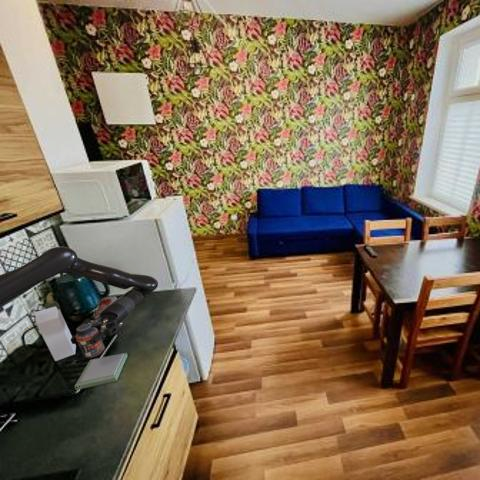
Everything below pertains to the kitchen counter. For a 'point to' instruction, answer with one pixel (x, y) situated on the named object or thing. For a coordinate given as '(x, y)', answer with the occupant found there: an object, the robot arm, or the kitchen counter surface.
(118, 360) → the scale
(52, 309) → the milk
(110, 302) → the food item
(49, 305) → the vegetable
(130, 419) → the kitchen counter surface
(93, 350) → the supplement bottle
